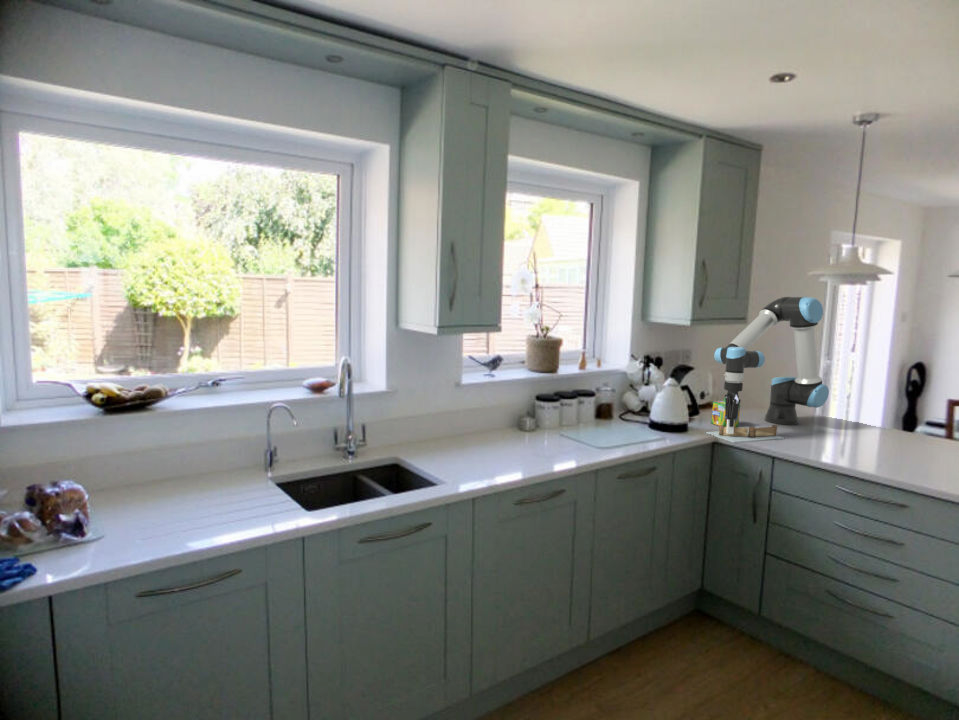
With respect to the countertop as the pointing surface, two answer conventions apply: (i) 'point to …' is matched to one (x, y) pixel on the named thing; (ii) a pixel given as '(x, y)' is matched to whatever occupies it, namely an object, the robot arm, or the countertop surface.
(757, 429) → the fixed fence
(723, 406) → the chalk box
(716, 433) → the card
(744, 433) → the tan wooden bar
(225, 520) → the countertop surface
